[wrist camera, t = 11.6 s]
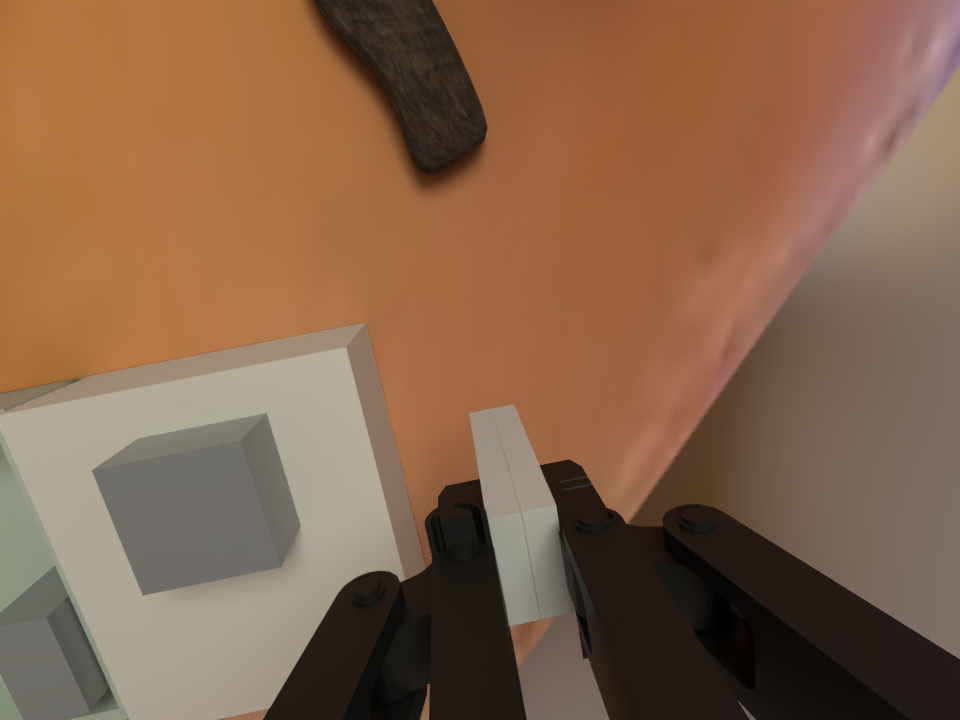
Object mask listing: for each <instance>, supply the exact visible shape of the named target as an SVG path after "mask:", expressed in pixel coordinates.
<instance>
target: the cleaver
mask: <svg viewBox="0 0 960 720" xmlns="http://www.w3.org/2000/svg"><path fill="white" fill-rule="evenodd" d="M315 1H316V3H317V6H318V8H319V10H320V12H321V13H322V15H323V16H324V17H325V19H326V20H327V21H328V23H329V24H330V25H331V27H332V28H333V29H334V31H335V32H336V33H337V34H338V35H339V36H340V38H341V39H342V40H343V41H344V42H345V43H346V44H347V45H348V46H349V47H350V48H351V49H352V50H353V51H354V52H355V53H356V54H357V55H358V56H359V57H360V58H361V60H362V61H363V62H364V63H365V64H366V65H367V66H368V67H369V68H370V69H371V70H372V71H373V73H374V74H375V76H376V77H377V79H378V80H379V82H380V83H381V85H382V86H383V88H384V89H385V91H386V92H387V94H388V95H389V97H390V100H391V102H392V105H393V107H394V109H395V112H396V114H397V117H398V119H399V122H400V124H401V127H402V129H403V132H404V135H405V138H406V141H407V144H408V147H409V150H410V153H411V155H412V158H413V159H414V161H415V163H416V165H417V167H418V169H419V171H420V172H423V173H426V174H429V175H432V174H435V173H437V172H440V171H442V170H444V169H446V168H448V167H449V166H451V165H452V164H454V163H456V162H457V161H459V160H460V159H462V158H463V157H465V156H466V155H468V154H469V153H471V152H472V151H474V150H475V149H476V148H477V147H478V146H479V145H480V144H481V143H482V142H483V141H484V139H485V135H486V131H487V124H486V120H485V117H484V113H483V109H482V106H481V104H480V101H479V99H478V96H477V94H476V91H475V89H474V87H473V84H472V82H471V79H470V77H469V75H468V73H467V70H466V68H465V66H464V64H463V62H462V59H461V57H460V55H459V53H458V51H457V48H456V46H455V44H454V42H453V40H452V38H451V36H450V34H449V32H448V30H447V28H446V26H445V24H444V22H443V20H442V18H441V16H440V14H439V13H438V11H437V9H436V7H435V5H434V3H433V1H432V0H315Z"/></svg>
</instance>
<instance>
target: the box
mask: <svg viewBox="0 0 960 720" xmlns="http://www.w3.org/2000/svg"><path fill="white" fill-rule="evenodd" d="M77 381H79V378H77V379H72V380H67V381H62V382H57V383H52V384H46V385H41V386H36V387H31V388H26V389H21V390H15V391H10V392H5V393H0V413H2V412H5V411H7V410H10V409H12V408H14V407H17V406H19V405H22V404H24V403H26V402H29V401H31V400H34V399H36V398H38V397H41V396H43V395H46V394H48V393H51V392H53V391H55V390H58V389H60V388H63V387H65V386H67V385H70V384H72V383H75V382H77ZM53 566H56V569H57V571H58V573H59V575H60V577H61V580H62V582H63V584H64V586H65V589H66V591H67V593H68V595H69V597H70V600H71V602H72V604H73V606H74V609H75V611H76V613H77V615H78V618H79V620H80V622H81V624H82V626H83V629H84V631H85V633H86V635H87V638H88V640H89V642H90V644H91V646H92V649H93V651H94V653H95V655H96V658H97V660H98V662H99V664H100V666H101V669H102V671H103V673H104V675H105V678H106V680H107V682H108V684H109V688H108V689H107V690H106V692H105V693H104V695H103V696H102V697H101V699H100V700H99V701H98V703H97V704H96V706H95V707H94V708H93V710H92V711H91V712H90V713H86V714H81V715H77V716H72V717H67V718H62V719H58V720H127V719H129V717H128V715H127V712H126V710H125V708H124V706H123V704H122V701H121V699H120V697H119V695H118V692H117V690H116V688H115V686H114V683H113V681H112V679H111V677H110V674H109V672H108V670H107V668H106V665H105V663H104V661H103V659H102V656H101V654H100V652H99V650H98V647H97V645H96V643H95V641H94V638H93V636H92V634H91V632H90V630H89V627H88V625H87V623H86V621H85V618H84V616H83V614H82V612H81V609H80V607H79V605H78V603H77V600H76V598H75V596H74V594H73V591H72V589H71V587H70V585H69V582H68V580H67V578H66V576H65V573H64V571H63V569H62V567H61V564H60V562H59V560H58V558H57V556H56V553H55V551H54V549H53V547H52V544H51V542H50V540H49V538H48V535H47V533H46V531H45V529H44V526H43V524H42V522H41V520H40V517H39V515H38V513H37V511H36V508H35V506H34V504H33V502H32V499H31V497H30V495H29V493H28V490H27V488H26V486H25V484H24V481H23V479H22V477H21V475H20V473H19V470H18V468H17V466H16V464H15V461H14V459H13V457H12V455H11V452H10V450H9V448H8V446H7V443H6V441H5V439H4V437H3V434H2V432H1V430H0V612H2V611H3V610H4V609H5V608H6V607H7V606H9V605H10V604H11V603H12V602H13V601H14V600H15V599H17V598H18V597H19V596H20V595H21V594H22V593H24V592H25V591H26V590H27V589H28V588H29V587H30V586H32V585H33V584H34V583H35V582H36V581H37V580H38V579H40V578H41V577H42V576H43V575H44V574H45V573H47V572H48V571H49V570H50V569H51V568H52V567H53ZM0 720H23V718H22V716H21V714H20V712H19V710H18V708H17V706H16V704H15V702H14V700H13V699H12V697H11V695H10V693H9V691H8V689H7V687H6V685H5V683H4V681H3V679H2V677H1V675H0Z"/></svg>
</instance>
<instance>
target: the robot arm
mask: <svg viewBox="0 0 960 720" xmlns="http://www.w3.org/2000/svg"><path fill="white" fill-rule="evenodd" d="M469 414H470V421H471V427H472V433H473V440H474V446H475V452H476V458H477V465H478V471H479V477H480V479H478V480H473V481H468V482H463V483H458V484H453V485H448V486H445V488H444V489H443V491H442V492H441V494H440V495H439V496H438V508H436V509H434V510H433V511H432V512H431V513H430V514H429V515H428V516H427V518H426V520H425V527H426V532H427V536H428V540H429V544H430V549H431V553H432V563H431V564H430V566H429V567H427V568H426V569H425V570H423V571H422V572H421V573H419V574H417V575H415V576H413V577H411V578H409V579H406V580H404V581H402V582H400V581H399V579H398V577H397V575H395V574H393V573H391V572H390V571H374V572H368V573H365V574H363V575H360V576H358V577H356V578H354V579H353V580H351V581H350V582H349V583H347V584H346V585H345V586H344V587H343V588H342V589H341V590H340V592H339V593H338V594H337V596H336V597H335V599H334V601H333V603H332V604H331V606H330V608H329V609H328V611H327V613H326V614H325V616H324V618H323V619H322V621H321V623H320V624H319V626H318V628H317V629H316V631H315V633H314V635H313V636H312V638H311V640H310V641H309V643H308V645H307V646H306V648H305V650H304V651H303V653H302V655H301V656H300V658H299V660H298V661H297V663H296V665H295V667H294V668H293V670H292V672H291V673H290V675H289V677H288V678H287V680H286V682H285V683H284V685H283V687H282V688H281V690H280V692H279V693H278V695H277V697H276V699H275V700H274V702H273V704H272V705H271V707H270V709H269V710H268V712H267V714H266V715H265V717H264V719H263V720H420V717H421V713H422V710H423V706H424V703H425V699H426V694H427V684H429V683H430V709H429V720H527V719H526V714H525V708H524V703H523V697H522V691H521V686H520V681H519V675H518V669H517V664H516V658H515V653H514V647H513V642H512V637H511V632H510V627H509V626H513V625H518V624H523V623H527V622H532V621H537V620H542V619H546V618H551V617H556V616H560V615H565V614H570V613H573V612H574V611H573V605H572V601H573V604H574V607H575V610H576V616H577V622H578V629H579V635H580V640H581V647H582V652H583V659H585V658H589V661H590V664H591V667H592V670H593V673H594V676H595V679H596V682H597V685H598V687H599V690H600V693H601V696H602V699H603V702H604V705H605V708H606V710H607V714H608V716H609V719H610V720H749V718H748V717H747V715H746V713H745V712H744V710H743V709H742V707H741V705H740V704H739V702H740V703H741V704H742V705H743V706H744V707H745V708H746V709H747V710H748V711H749V713H750V714H751V715H752V716H753V717H754V718H755V719H756V720H960V659H958V658H957V657H955V656H953V655H952V654H950V653H949V652H947V651H946V650H944V649H942V648H941V647H939V646H938V645H936V644H934V643H933V642H931V641H930V640H928V639H926V638H924V637H923V636H922V635H920V634H918V633H917V632H915V631H914V630H912V629H910V628H909V627H907V626H905V625H904V624H902V623H901V622H899V621H897V620H896V619H894V618H892V617H891V616H889V615H888V614H886V613H885V612H883V611H881V610H880V609H878V608H877V607H875V606H873V605H872V604H870V603H869V602H867V601H865V600H864V599H862V598H860V597H859V596H857V595H856V594H854V593H852V592H851V591H849V590H848V589H846V588H844V587H843V586H841V585H839V584H838V583H836V582H834V581H833V580H831V579H830V578H828V577H827V576H825V575H823V574H822V573H820V572H819V571H817V570H815V569H814V568H812V567H811V566H809V565H807V564H806V563H804V562H803V561H801V560H799V559H798V558H796V557H795V556H793V555H791V554H790V553H788V552H787V551H785V550H783V549H782V548H780V547H778V546H777V545H775V544H774V543H772V542H771V541H769V540H767V539H766V538H764V537H763V536H761V535H759V534H757V533H756V532H754V531H753V530H751V529H750V528H748V527H746V526H745V525H743V524H742V523H740V522H738V521H737V520H735V519H734V518H732V517H730V516H729V515H727V514H726V513H724V512H722V511H720V510H718V509H715V508H713V507H710V506H704V505H699V504H693V505H691V504H689V505H683V506H679V507H675V508H673V509H671V510H669V511H668V512H667V513H666V514H665V515H664V517H663V518H662V521H663V527H643V526H633V525H629V524H626V523H625V521H624V520H623V518H622V517H621V516H620V515H619V514H618V513H617V512H616V511H614V510H611V509H609V508H606V506H605V505H604V503H603V501H602V500H601V498H600V496H599V495H598V493H597V491H596V490H595V488H594V486H593V485H592V484H591V481H590V480H589V478H588V477H587V475H586V473H585V471H584V470H583V468H582V466H580V465H578V464H577V463H575V462H573V461H571V460H564V461H559V462H554V463H550V464H545V465H540V466H539V463H538V461H537V459H536V456H535V454H534V452H533V449H532V447H531V444H530V442H529V440H528V437H527V435H526V433H525V430H524V428H523V426H522V423H521V421H520V418H519V416H518V414H517V411H516V409H515V407H514V404H513V405H508V406H503V407H498V408H493V409H488V410H483V411H478V412H473V413H469ZM571 598H572V599H571ZM737 700H738V701H739V702H738V701H737Z"/></svg>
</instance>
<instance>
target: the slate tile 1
mask: <svg viewBox="0 0 960 720" xmlns="http://www.w3.org/2000/svg"><path fill="white" fill-rule="evenodd" d="M0 675H1V677H2V679H3V681H4V683H5V685H6V687H7V689H8V691H9V693H10V695H11V697H12V699H13V700H14V702H15V704H16V706H17V708H18V710H19V712H20V714H21V716H22V718H23V720H58V719H62V718H67V717H72V716H77V715H81V714H86V713H90V712H91V711H92V710H93V708H94V707H95V706H96V704H97V703H98V701H99V700H100V699H101V697H102V696H103V695H104V693H105V692H106V690H107V689H108V688H109V684H108V682H107V680H106V678H105V675H104V673H103V671H102V669H101V666H100V664H99V662H98V660H97V658H96V655H95V653H94V651H93V649H92V646H91V644H90V642H89V640H88V638H87V635H86V633H85V631H84V629H83V626H82V624H81V622H80V620H79V618H78V615H77V613H76V611H75V609H74V606H73V604H72V602H71V600H70V597H69V595H68V593H67V591H66V589H65V586H64V584H63V582H62V580H61V577H60V575H59V573H58V571H57V569H56V566H53V567H52V568H51V569H50V570H49V571H48V572H47V573H45V574H44V575H43V576H42V577H41V578H40V579H38V580H37V581H36V582H35V583H34V584H33V585H32V586H30V587H29V588H28V589H27V590H26V591H25V592H24V593H22V594H21V595H20V596H19V597H18V598H17V599H15V600H14V601H13V602H12V603H11V604H10V605H9V606H7V607H6V608H5V609H4V610H3V611H2V612H0Z"/></svg>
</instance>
